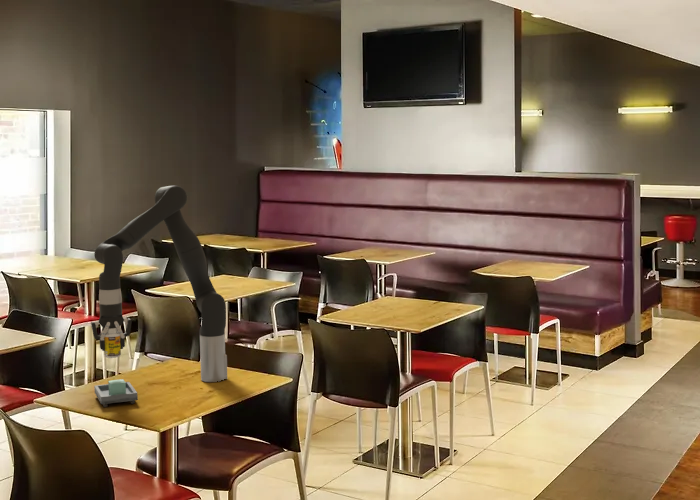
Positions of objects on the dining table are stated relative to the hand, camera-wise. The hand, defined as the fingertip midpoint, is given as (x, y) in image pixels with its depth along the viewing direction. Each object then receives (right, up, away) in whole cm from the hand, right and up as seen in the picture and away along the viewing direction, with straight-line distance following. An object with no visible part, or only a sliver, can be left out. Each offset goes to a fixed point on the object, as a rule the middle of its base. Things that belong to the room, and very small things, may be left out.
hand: (112, 349), depth 306 cm
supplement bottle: (0, -3, 0) cm, 3 cm away
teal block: (+3, -15, -5) cm, 16 cm away
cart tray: (+2, -18, -1) cm, 18 cm away
